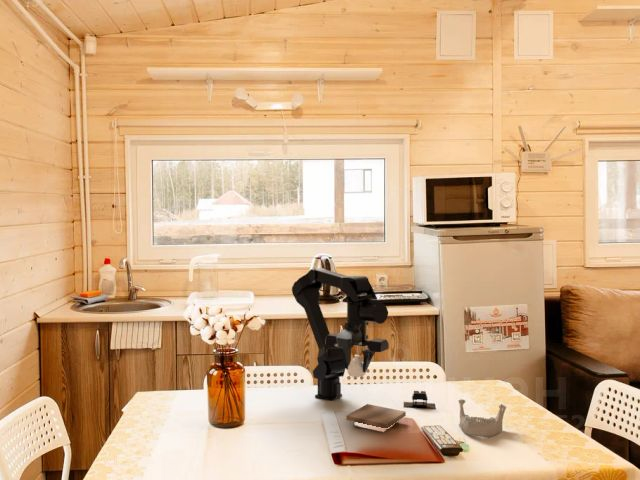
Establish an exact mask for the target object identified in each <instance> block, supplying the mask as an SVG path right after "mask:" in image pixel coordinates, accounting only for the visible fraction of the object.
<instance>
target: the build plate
mask: <svg viewBox="0 0 640 480" xmlns="http://www.w3.org/2000/svg"><path fill="white" fill-rule="evenodd" d="M427 395H428V394H427V391H425V390H420V391H419V390H413V393H412V396H411V399H412V401H404V402H403V408H404V409H405V408H406V409H426V410H436V409H437V408H436V403H434V402H433V403H432V402H428V400H429V399H428V396H427ZM417 400H418V401H417ZM419 400H421V401H419Z"/></svg>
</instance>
